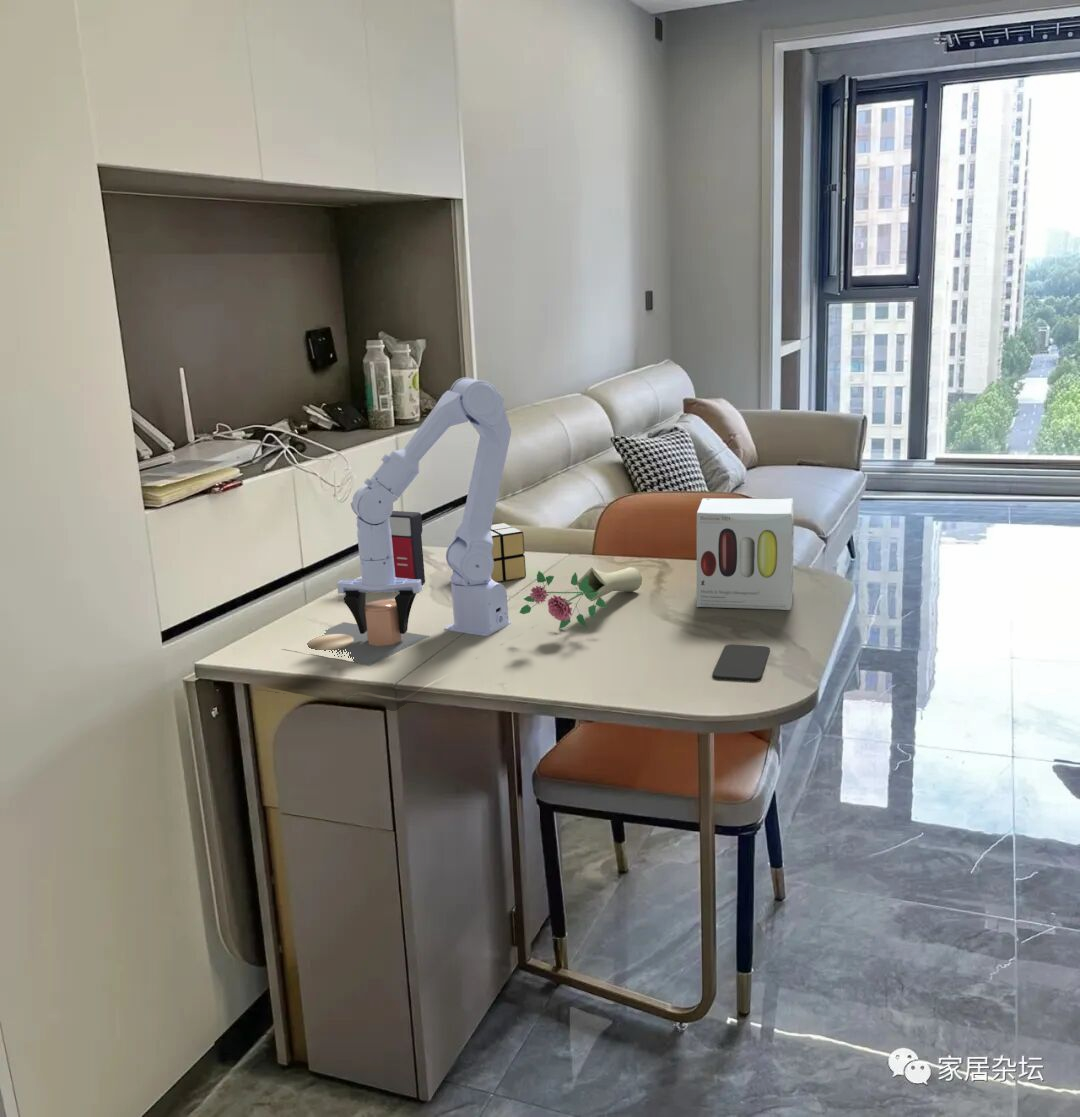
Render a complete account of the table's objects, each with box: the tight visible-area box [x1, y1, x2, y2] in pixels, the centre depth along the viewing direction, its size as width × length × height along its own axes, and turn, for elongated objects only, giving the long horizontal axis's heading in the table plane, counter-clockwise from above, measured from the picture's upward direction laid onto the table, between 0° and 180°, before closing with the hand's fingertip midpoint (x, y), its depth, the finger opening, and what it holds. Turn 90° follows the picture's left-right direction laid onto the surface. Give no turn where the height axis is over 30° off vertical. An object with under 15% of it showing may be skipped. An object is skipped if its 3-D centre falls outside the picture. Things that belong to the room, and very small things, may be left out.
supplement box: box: [696, 497, 795, 611], centre depth 198 cm, size 17×13×18 cm
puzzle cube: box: [491, 522, 527, 583], centre depth 224 cm, size 10×10×10 cm
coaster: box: [307, 634, 354, 651], centre depth 188 cm, size 8×8×1 cm
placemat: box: [322, 621, 430, 667], centre depth 187 cm, size 20×16×1 cm
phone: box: [711, 643, 771, 683], centre depth 168 cm, size 7×1×15 cm
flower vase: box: [519, 566, 643, 630], centre depth 194 cm, size 12×12×35 cm
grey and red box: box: [389, 510, 426, 586], centre depth 222 cm, size 11×4×15 cm, turn 62°
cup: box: [365, 599, 401, 646], centre depth 187 cm, size 6×6×6 cm
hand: (383, 632), depth 187 cm, fingers open, 7 cm apart
